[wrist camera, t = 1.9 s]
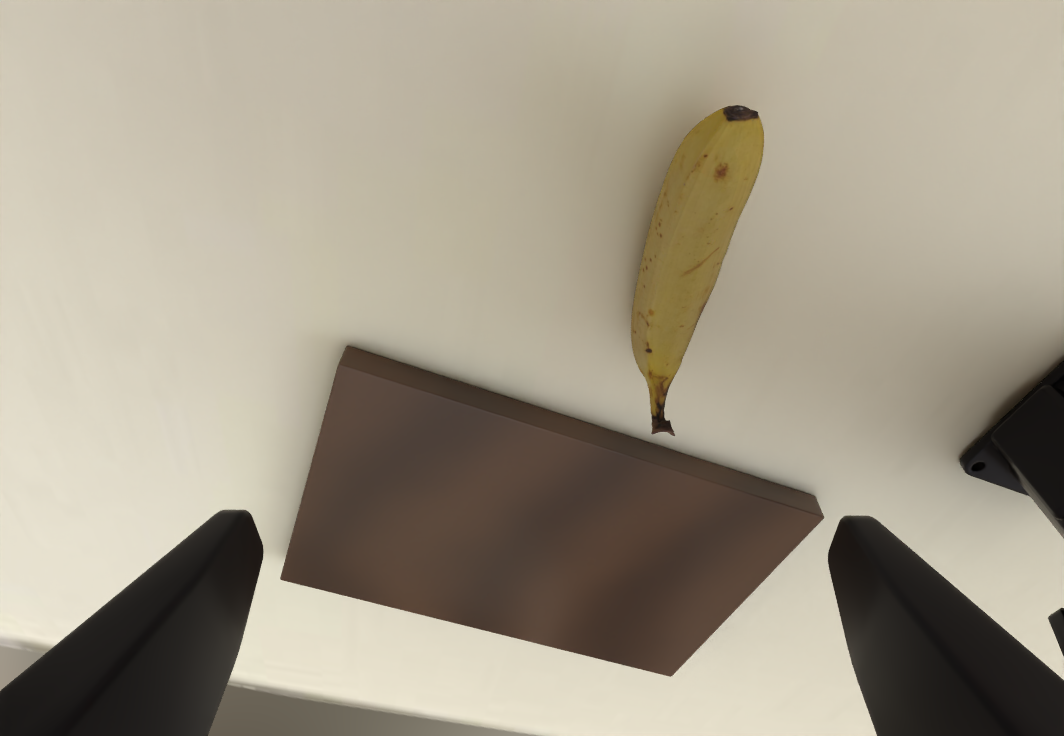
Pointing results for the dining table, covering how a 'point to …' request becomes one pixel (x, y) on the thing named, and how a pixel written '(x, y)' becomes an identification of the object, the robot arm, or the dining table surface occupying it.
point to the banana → (691, 242)
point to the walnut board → (530, 520)
